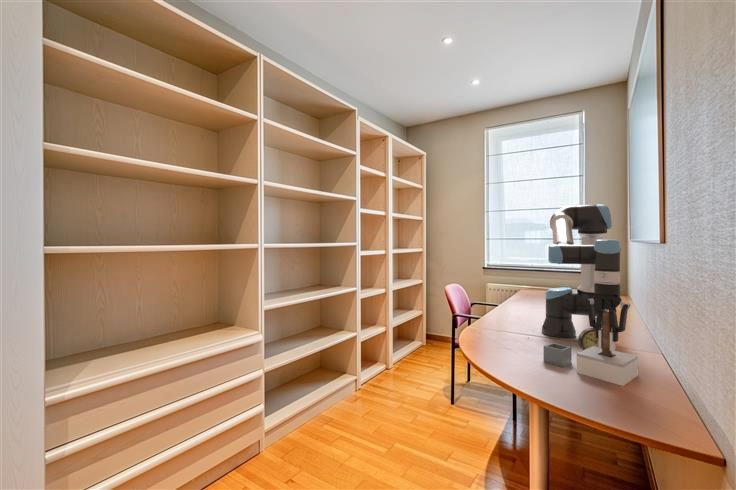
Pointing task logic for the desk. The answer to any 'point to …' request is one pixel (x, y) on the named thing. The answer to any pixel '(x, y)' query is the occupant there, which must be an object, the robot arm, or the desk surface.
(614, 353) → the white box
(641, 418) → the desk surface
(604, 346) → the brown wooden rod
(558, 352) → the pen cup
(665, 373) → the desk surface
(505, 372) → the desk surface
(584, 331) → the alarm clock
